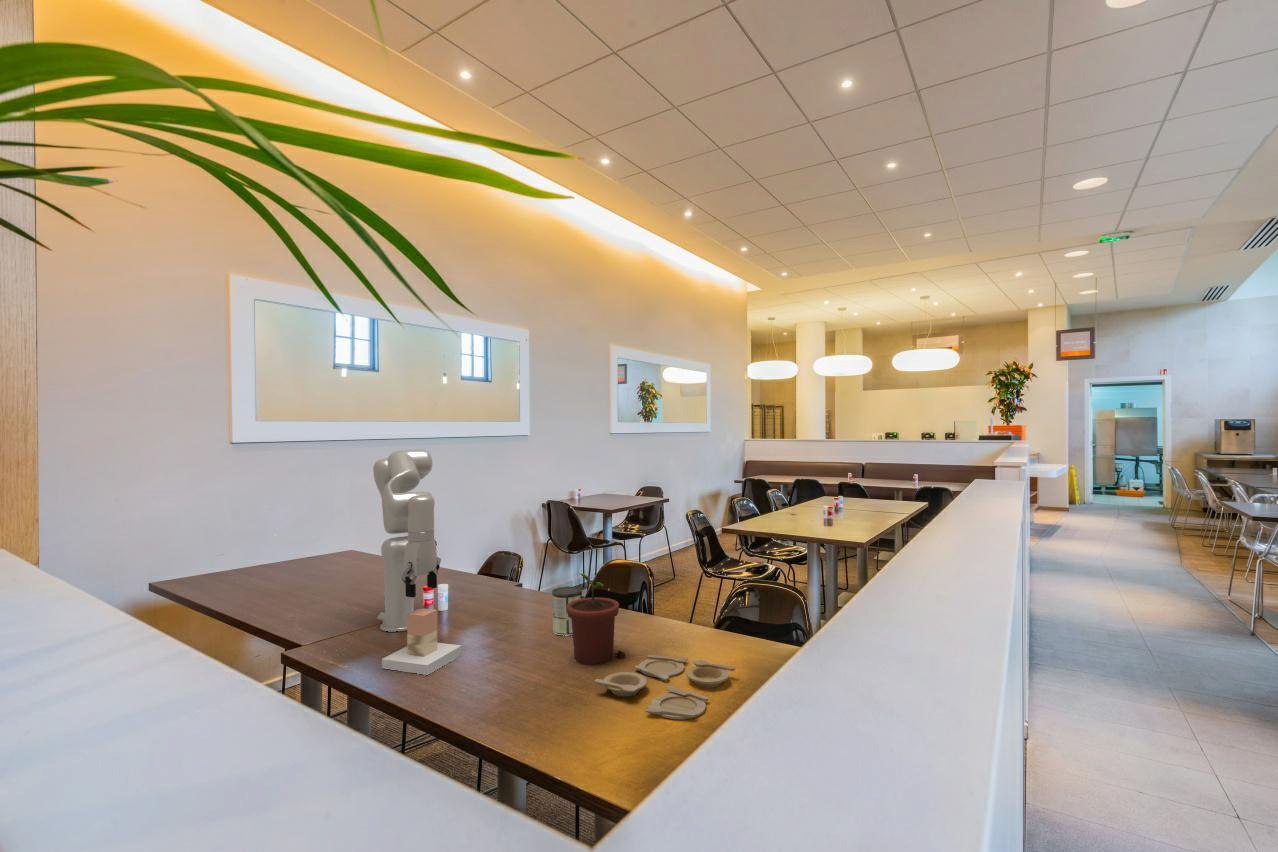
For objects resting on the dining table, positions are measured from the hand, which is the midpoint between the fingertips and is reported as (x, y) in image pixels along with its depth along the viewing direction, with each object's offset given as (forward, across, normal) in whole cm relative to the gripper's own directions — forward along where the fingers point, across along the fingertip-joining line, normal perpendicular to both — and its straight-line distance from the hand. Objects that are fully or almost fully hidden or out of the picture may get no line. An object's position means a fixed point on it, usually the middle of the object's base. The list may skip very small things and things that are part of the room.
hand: (421, 592), depth 183 cm
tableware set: (+19, -2, +78) cm, 80 cm away
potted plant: (+19, -18, +51) cm, 57 cm away
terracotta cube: (+11, +3, +2) cm, 12 cm away
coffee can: (+20, -34, +33) cm, 51 cm away
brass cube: (+17, +3, +2) cm, 17 cm away
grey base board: (+20, +3, +3) cm, 20 cm away
